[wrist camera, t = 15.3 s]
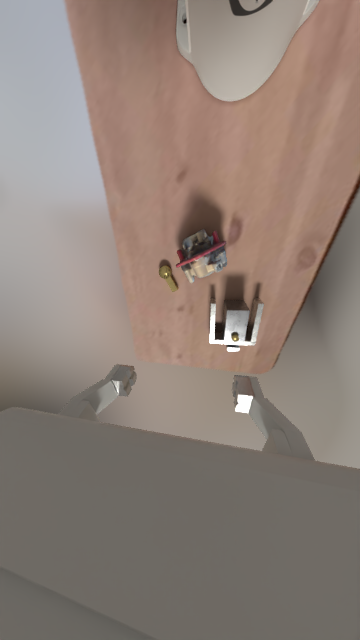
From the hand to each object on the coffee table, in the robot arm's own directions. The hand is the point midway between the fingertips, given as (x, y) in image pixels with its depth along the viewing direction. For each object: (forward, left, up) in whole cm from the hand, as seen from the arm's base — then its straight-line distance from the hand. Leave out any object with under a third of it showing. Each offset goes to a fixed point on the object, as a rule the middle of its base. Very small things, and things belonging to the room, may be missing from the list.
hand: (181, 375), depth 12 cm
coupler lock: (+10, +9, -31) cm, 34 cm away
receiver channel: (+11, +9, -31) cm, 34 cm away
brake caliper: (-6, 0, -31) cm, 32 cm away
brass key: (-1, -8, -31) cm, 32 cm away
